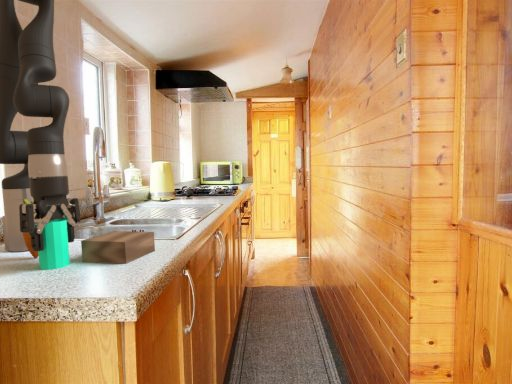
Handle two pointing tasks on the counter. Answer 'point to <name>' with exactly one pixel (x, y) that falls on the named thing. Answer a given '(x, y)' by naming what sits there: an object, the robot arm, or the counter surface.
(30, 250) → the carrot
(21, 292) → the counter surface
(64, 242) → the candle
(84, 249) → the walnut stand
